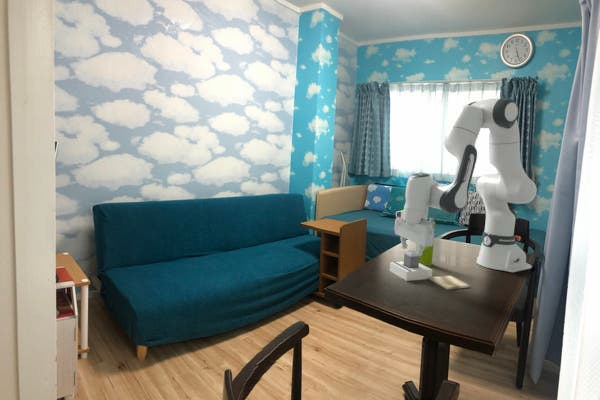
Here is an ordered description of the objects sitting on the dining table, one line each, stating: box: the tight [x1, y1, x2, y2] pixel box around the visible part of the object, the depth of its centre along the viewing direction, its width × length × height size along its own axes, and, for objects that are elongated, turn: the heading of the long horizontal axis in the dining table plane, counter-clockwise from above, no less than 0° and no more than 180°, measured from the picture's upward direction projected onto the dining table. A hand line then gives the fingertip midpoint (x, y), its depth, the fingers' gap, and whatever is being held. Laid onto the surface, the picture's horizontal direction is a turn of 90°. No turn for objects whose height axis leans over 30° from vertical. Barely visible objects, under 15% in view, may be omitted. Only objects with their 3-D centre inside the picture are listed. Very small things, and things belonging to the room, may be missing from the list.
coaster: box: [428, 275, 471, 290], centre depth 139 cm, size 10×10×1 cm
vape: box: [419, 217, 436, 267], centre depth 160 cm, size 4×6×20 cm, turn 49°
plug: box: [403, 250, 420, 269], centre depth 146 cm, size 4×4×9 cm
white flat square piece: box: [389, 260, 433, 282], centre depth 146 cm, size 11×11×4 cm
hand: (411, 251), depth 145 cm, fingers open, 8 cm apart
